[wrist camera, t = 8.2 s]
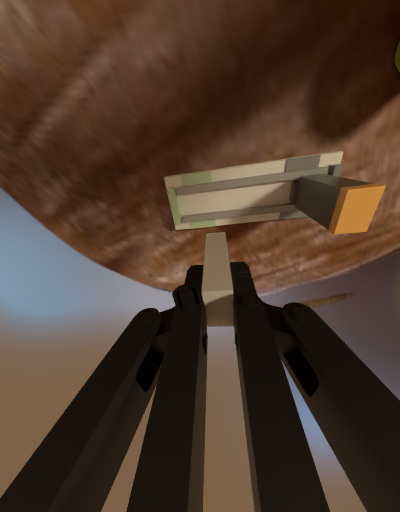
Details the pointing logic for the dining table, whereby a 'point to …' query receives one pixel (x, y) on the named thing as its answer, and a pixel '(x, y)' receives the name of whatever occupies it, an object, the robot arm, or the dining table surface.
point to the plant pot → (397, 57)
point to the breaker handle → (337, 201)
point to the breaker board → (243, 191)
